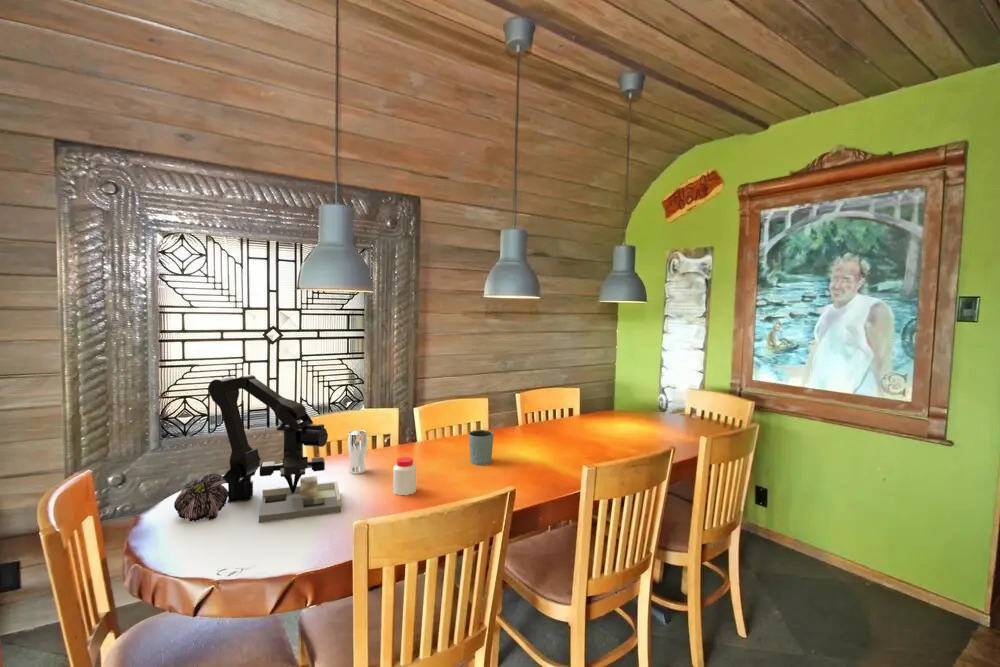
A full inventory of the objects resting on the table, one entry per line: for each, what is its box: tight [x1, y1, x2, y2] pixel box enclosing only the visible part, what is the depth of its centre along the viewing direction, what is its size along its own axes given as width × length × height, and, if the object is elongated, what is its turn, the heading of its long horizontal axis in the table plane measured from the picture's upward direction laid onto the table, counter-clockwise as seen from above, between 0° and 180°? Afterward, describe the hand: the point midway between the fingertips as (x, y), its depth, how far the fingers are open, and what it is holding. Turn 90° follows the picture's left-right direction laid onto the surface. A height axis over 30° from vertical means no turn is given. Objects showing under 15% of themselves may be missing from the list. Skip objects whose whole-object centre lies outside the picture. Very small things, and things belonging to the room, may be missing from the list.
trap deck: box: [258, 480, 342, 524], centre depth 153 cm, size 22×16×4 cm
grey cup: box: [468, 429, 495, 466], centre depth 200 cm, size 10×10×12 cm
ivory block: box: [299, 475, 318, 499], centre depth 158 cm, size 5×5×5 cm
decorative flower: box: [173, 473, 229, 523], centre depth 147 cm, size 15×12×15 cm
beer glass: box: [347, 429, 368, 475], centre depth 186 cm, size 7×7×15 cm
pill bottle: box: [392, 456, 417, 496], centre depth 168 cm, size 8×8×11 cm
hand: (293, 493), depth 156 cm, fingers closed
